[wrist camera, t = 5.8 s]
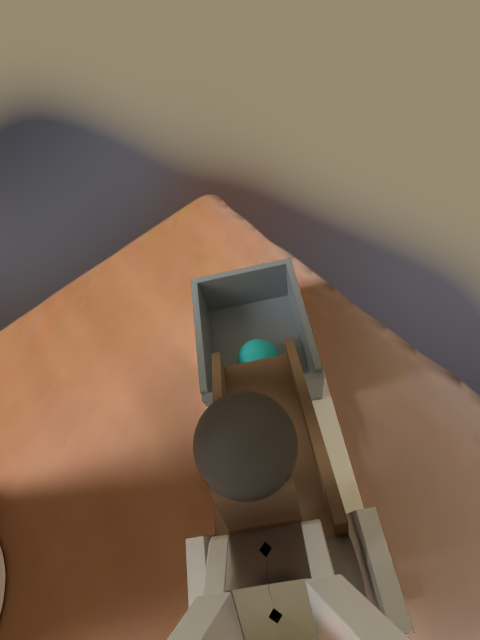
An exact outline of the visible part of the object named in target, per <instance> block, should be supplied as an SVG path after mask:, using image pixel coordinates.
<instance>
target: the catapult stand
mask: <svg viewBox="0 0 480 640" xmlns="http://www.w3.org/2000/svg"><path fill="white" fill-rule="evenodd" d="M323 373H324V371H323ZM324 377H325V374H324ZM312 403H313V407H314V410H315V413H316V417H317V420H318V423H319V427H320V430H321V433H322V436H323V440H324V443H325V446H326V450H327V453H328V456H329V460H330V463H331V466H332V469H333V473H334V476H335V479H336V483H337V486H338V489H339V493H340V496H341V499H342V502H343V506H344V509H345V512H346V516H347V519H348V522H349V536H350V538H351V541H352V544H353V547H354V550H355V553H356V556H357V560H358V563H359V567H360V571H361V575H362V579H363V583H364V588H365V593H366V596H367V599H368V600H369V601H370V602H371V603H372V604H373V605H374V606H375V607H376V608H377V609H378V610H380V611H381V612H382V613H383V614H384V615H385V616H386V617H387V618H388V619H389V620H390V621H391V622H392V623H393V624H394V625H396V626H397V627H398V628H399V629H400V630H401V631H402V632H403V633H404V634H408V633H415V632H414V629H413V626H412V623H411V619H410V616H409V613H408V610H407V607H406V603H405V600H404V597H403V594H402V590H401V587H400V584H399V581H398V578H397V574H396V571H395V568H394V565H393V562H392V558H391V555H390V552H389V549H388V545H387V542H386V539H385V536H384V533H383V529H382V526H381V523H380V520H379V516H378V513H377V510H376V507H370V508H364V507H363V503H362V500H361V496H360V493H359V490H358V486H357V483H356V479H355V476H354V473H353V469H352V466H351V462H350V459H349V456H348V452H347V449H346V445H345V442H344V439H343V435H342V432H341V428H340V425H339V422H338V418H337V415H336V411H335V408H334V405H333V401H332V398H331V394H330V391H329V388H328V384H327V381H326V378H325V379H324V386H323V394H322V399H319V400H313V401H312ZM206 409H207V406H206ZM211 537H215V535H210V536H200V537H194V538H188V539H185V541H186V562H187V583H188V603H189V607H190V606H191V604H192V603H193V602H194V600H195V599H196V597H199V596H203V588H204V580H205V571H206V563H207V555H208V547H209V541H210V539H211Z"/></svg>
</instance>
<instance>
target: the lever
mask: <svg viewBox="0 0 480 640" xmlns="http://www.w3.org/2000/svg"><path fill="white" fill-rule="evenodd" d="M284 342H285V349H286V354H285V355H280V356H275V357H270V358H265V359H260V360H255V361H250V362H245V363H240V364H235V365H230V366H224V363H223V360H222V357H221V354H220V352H218V353H213V354H212V400H213V403H212V404H211V405H210V406H209V407H208V408H207V409H206V410H205V412H204V413H203V415H202V416H201V418H200V420H199V421H198V424H197V427H196V430H195V434H194V441H193V452H194V458H195V463H196V465H197V468H198V471H199V473H200V475H201V476H202V478H203V479H204V481H205V482H206V483H207V485H208V486H209V487H210V497H211V499H212V501H213V502H214V504H215V536H223V535H229V534H233V533H240V532H247V531H255V530H262V529H267V528H272V527H278V526H284V525H289V524H295V523H301V522H305V521H310V520H316V519H319V520H320V522H321V525H322V529H323V532H324V536H325V540H326V543H327V547H328V551H329V555H330V558H331V562H332V566H333V570H334V573H335V575H338V574H341V575H342V576H343V577H344V578H346V579H347V580H348V581H349V582H350V583H351V584H352V585H353V586H354V587H355V588H356V589H357V590H358V591H359V592H360V593H361V594H363V595H364V596H365V597H366V598H367V596H366V593H365V588H364V583H363V579H362V575H361V571H360V567H359V563H358V560H357V556H356V553H355V550H354V547H353V544H352V541H351V538H350V536H349V522H348V519H347V516H346V512H345V509H344V506H343V502H342V499H341V496H340V493H339V489H338V486H337V483H336V479H335V476H334V473H333V469H332V466H331V463H330V460H329V456H328V453H327V450H326V446H325V443H324V440H323V436H322V433H321V430H320V427H319V423H318V420H317V417H316V413H315V410H314V407H313V403H312V400H311V397H310V394H309V390H308V387H307V384H306V380H305V377H304V374H303V370H302V367H301V364H300V361H299V357H298V354H297V351H296V347H295V344H294V341H293V337H292V338H287V339H284ZM301 527H302V526H301ZM302 532H303V531H302ZM303 537H304V536H303Z"/></svg>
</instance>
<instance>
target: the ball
mask: <svg viewBox="0 0 480 640" xmlns="http://www.w3.org/2000/svg"><path fill="white" fill-rule="evenodd" d="M275 356H279V353H278V351H277V349H276V348H275V346H274V345H273V344H272V343H270V342H269V341H266V340H263V339H253V340H250V341H248V342H247V343H245V344H244V345H243V346H242V348H241V349H240V351H239V353H238V359H237V361H238V364H240V363H245V362H250V361H255V360H260V359H265V358H270V357H275Z"/></svg>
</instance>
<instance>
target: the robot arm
mask: <svg viewBox="0 0 480 640" xmlns="http://www.w3.org/2000/svg"><path fill="white" fill-rule="evenodd" d="M301 526H302V527H301ZM302 531H303V532H302ZM303 536H304V537H303ZM4 591H5V564H4V558H3V553H2V550H1V547H0V613H1V609H2V604H3V598H4ZM167 640H410V639H409V638H408V637H407V636H406V635H405V634H404V633H403V632H402V631H401V630H400V629H399V628H398V627H397V626H396V625H394V624H393V623H392V622H391V621H390V620H389V619H388V618H387V617H386V616H385V615H384V614H383V613H382V612H381V611H380V610H378V609H377V608H376V607H375V606H374V605H373V604H372V603H371V602H370V601H369V600H368V599H367V598H366V597H365V596H364V595H363V594H361V593H360V592H359V591H358V590H357V589H356V588H355V587H354V586H353V585H352V584H351V583H350V582H349V581H348V580H347V579H346V578H344V577H343V576H342V575H341V574H338V575H335V573H334V570H333V566H332V562H331V558H330V555H329V551H328V547H327V543H326V540H325V536H324V532H323V529H322V525H321V522H320V520H319V519H316V520H310V521H305V522H301V523H295V524H289V525H284V526H278V527H272V528H267V529H262V530H255V531H247V532H240V533H233V534H229V535H223V536H215V537H211V539H210V541H209V547H208V555H207V563H206V571H205V580H204V588H203V596H199V597H196V599H195V600H194V602H193V603H192V604H191V606H190V607H189V609H188V610H187V612H186V613H185V614H184V616H183V617H182V619H181V620H180V621H179V623H178V624H177V626H176V627H175V629H174V630H173V631H172V633H171V634H170V636H169V637H168V638H167Z"/></svg>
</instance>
